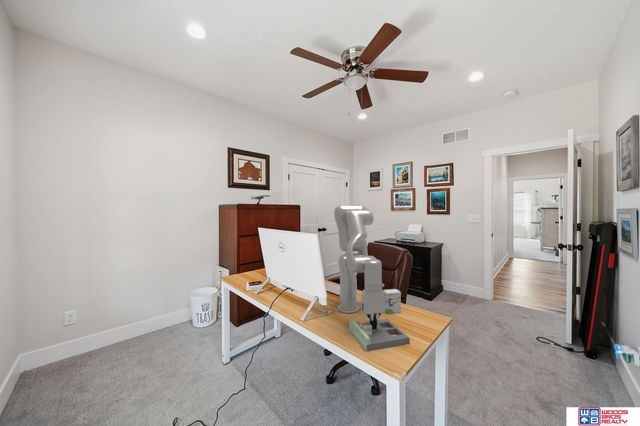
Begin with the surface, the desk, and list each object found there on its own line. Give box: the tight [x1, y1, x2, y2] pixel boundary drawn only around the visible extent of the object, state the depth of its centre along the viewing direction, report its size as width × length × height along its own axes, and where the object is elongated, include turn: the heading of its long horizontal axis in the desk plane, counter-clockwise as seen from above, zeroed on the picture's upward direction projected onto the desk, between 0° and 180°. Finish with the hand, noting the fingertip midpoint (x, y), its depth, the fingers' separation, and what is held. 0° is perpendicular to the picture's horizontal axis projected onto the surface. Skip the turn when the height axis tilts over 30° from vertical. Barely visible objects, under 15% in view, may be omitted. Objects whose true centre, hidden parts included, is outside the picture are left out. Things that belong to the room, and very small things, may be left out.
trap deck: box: [348, 318, 411, 352], centre depth 107 cm, size 18×21×5 cm
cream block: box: [359, 321, 372, 336], centre depth 104 cm, size 4×4×4 cm
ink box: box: [382, 288, 402, 315], centre depth 132 cm, size 9×5×12 cm, turn 101°
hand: (373, 327), depth 106 cm, fingers closed
